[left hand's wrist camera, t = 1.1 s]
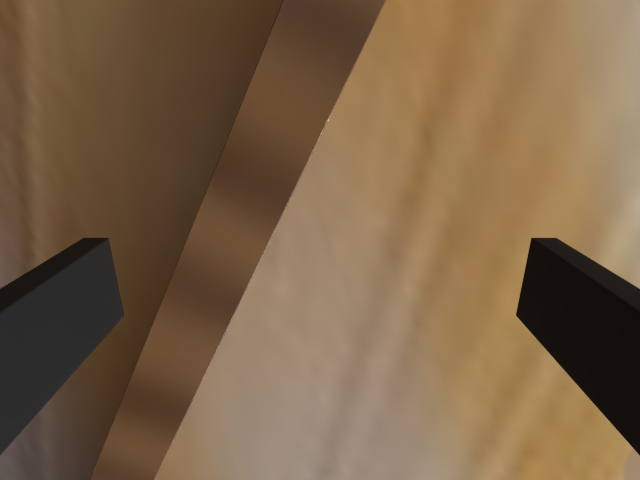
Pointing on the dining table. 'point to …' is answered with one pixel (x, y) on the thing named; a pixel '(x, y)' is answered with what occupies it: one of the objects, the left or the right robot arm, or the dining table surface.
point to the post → (236, 221)
